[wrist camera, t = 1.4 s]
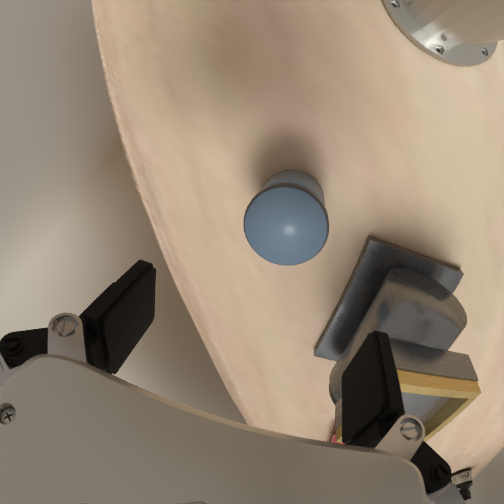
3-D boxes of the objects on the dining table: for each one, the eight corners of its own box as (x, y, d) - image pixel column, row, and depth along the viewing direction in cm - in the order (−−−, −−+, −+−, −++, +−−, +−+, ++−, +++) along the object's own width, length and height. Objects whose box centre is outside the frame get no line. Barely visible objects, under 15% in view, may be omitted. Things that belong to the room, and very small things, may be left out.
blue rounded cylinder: (268, 160, 25) (253, 175, 19) (334, 179, 24) (341, 201, 18) (253, 220, 28) (235, 253, 22) (314, 239, 27) (313, 276, 21)
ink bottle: (476, 465, 47) (480, 494, 37) (461, 475, 51) (464, 503, 41) (454, 471, 49) (457, 502, 38) (440, 480, 53) (442, 510, 42)
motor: (368, 235, 26) (404, 340, 14) (460, 269, 25) (518, 362, 13) (314, 350, 34) (304, 453, 21) (395, 368, 33) (408, 461, 20)
